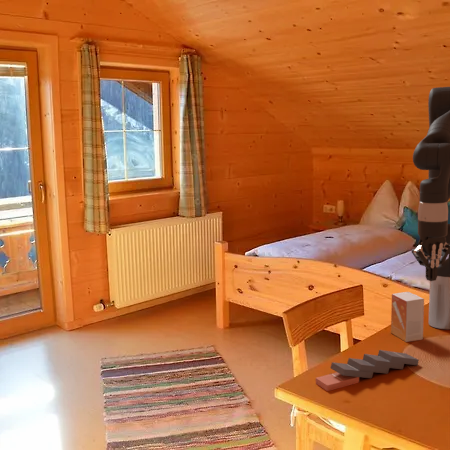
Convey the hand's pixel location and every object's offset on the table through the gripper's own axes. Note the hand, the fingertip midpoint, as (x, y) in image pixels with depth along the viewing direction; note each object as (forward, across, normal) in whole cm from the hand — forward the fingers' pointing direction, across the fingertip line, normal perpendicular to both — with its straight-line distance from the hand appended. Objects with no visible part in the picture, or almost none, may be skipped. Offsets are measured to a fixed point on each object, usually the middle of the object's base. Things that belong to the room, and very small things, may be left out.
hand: (431, 280), depth 158 cm
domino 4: (+22, -12, 0) cm, 25 cm away
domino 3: (+22, -17, 0) cm, 27 cm away
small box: (+23, +6, +15) cm, 28 cm away
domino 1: (+22, -27, 0) cm, 34 cm away
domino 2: (+21, -23, 0) cm, 31 cm away
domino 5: (+22, -6, 0) cm, 23 cm away
